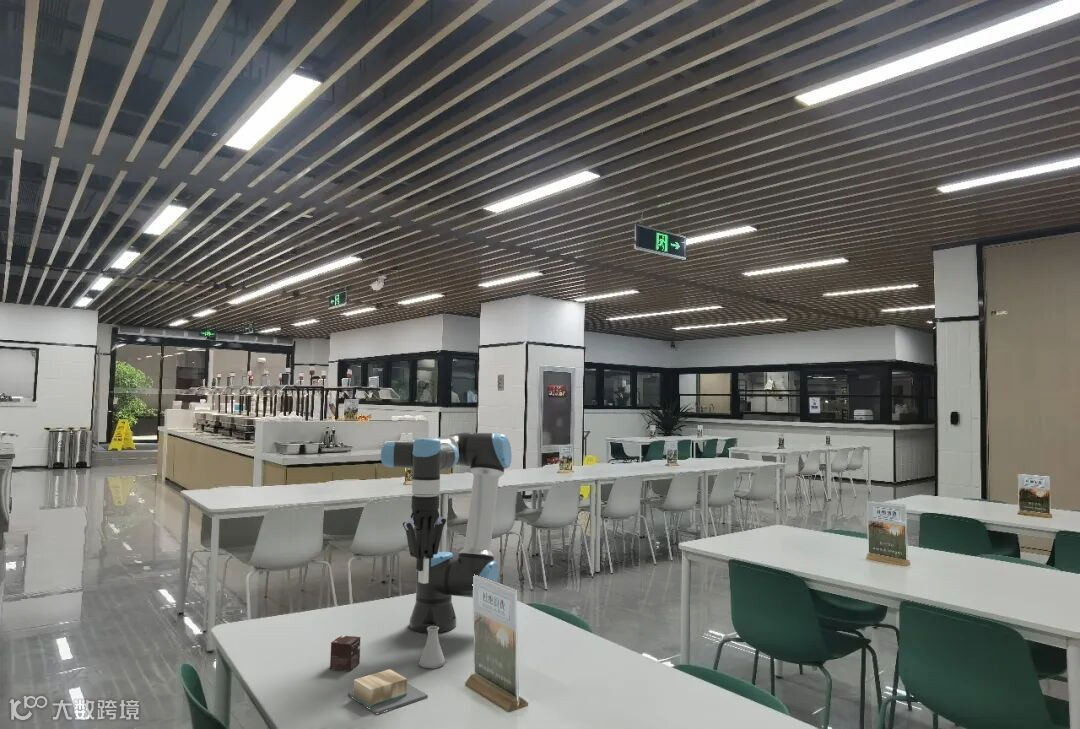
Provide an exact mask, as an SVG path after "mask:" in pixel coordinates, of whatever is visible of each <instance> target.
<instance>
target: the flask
mask: <svg viewBox="0 0 1080 729" xmlns="http://www.w3.org/2000/svg"><path fill="white" fill-rule="evenodd" d="M438 629H439V627H437V626H430V627H428V628H427V631H428V633H427V638H426V642H425V646H424V649H423V651H422V653H421V657H420V659H419V662H418V666H419V667H422V668H424V669H435V670H436V669H437V668H440V667H443V666H444V665H445V664H446V659H445V656H444V653H443V650H442V647H441V645H440V644H441V643H440V641H439V632H438Z"/></svg>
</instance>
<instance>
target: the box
mask: <svg viewBox="0 0 1080 729" xmlns="http://www.w3.org/2000/svg"><path fill="white" fill-rule="evenodd" d="M329 658H330V661H329V662H330V664H329V669H330V670H331V669H335V670H334V671H340V670H346V671H345V672H351V671H352V670H354V669H355V668H356V667H357V666H359V665H360V663H361V661H360V660H361V636H351V635H340V636H339V637H337V638H335V639H334V640H332V641H331V642H330V657H329ZM358 664H359V665H358ZM353 668H354V669H353Z"/></svg>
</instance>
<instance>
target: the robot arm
mask: <svg viewBox="0 0 1080 729" xmlns="http://www.w3.org/2000/svg"><path fill="white" fill-rule="evenodd" d="M512 457H513V456H512V447H511V442H510V441H509V438H508V436H506V434H504V433H503V434H502V433H496V432H490V433H489V432H460V433H454V434H447V435H442V436H441V435H440V437H438V438H437V437H436V438H435V437H417V438H415V439H414V440H412V441H411V440H410V441H394V440H393V441H387V442H386V443H384V444H383V446H382V448H381V451H380V461H381V464H382V465H383V467H386V468H393V469H395V468H398V469H400V468H401V469H412V481H411V482H412V484H411V485H412V486H411V494H412V496H411V514H410V518H409V520H408V521H404V522H403V523H402V527H403V529H404V530H405V533H406V534H405V535H406V539H407V546H408V551H409V555H410V557H412V558H415V559H416V565H415V566H416V567H415V569H416V570H415V572H416V577H415V578H416V579H415V580H416V584H415V588H416V589H415V604H414V606H413V608H412V613H411V616H410V618H409V628H410V630H412V631H415V632H419V633H426V634H428V631H427V628H428V627H430V626H437V627H439V629H438V633H443V632H444V631H445V632H448V631H451V630H453V629H454V627H455V628H456V626H457V616H456V613H455V609H454V606H453V602H452V601H453V600H452V596H454V597H461V598H462V597H463V598H472V599H474V598H473V586H472V584H473V576H474V574H475V575H478V576H481V577H484V578H487V579H489V580H492V581H495V582H497V583H498V578H499V574H500V573H499V564H498V562H496V561H495V560H494V559H495V555H494V554H493V552H492V551H491V548H492V547H491V546H492V539H493V538H492V536H493V530H494V529H493V528H494V522H495V512H496V506H497V496H498V488H499V479H500V478H501V477H502V476H503V475H504V474H505V469H508V468H510V466H511V463H512ZM456 465H457V466H462V467H463V466H464V467H470V468H469V471H470V472H471V474H472V475H473V480H472V486H471V495H470V500H469V501H470V502H469V509H468V510H469V511H468V517H467V526H466V532H465V540H464V541H465V542H464V547H463V548H462V549H461V550H460V551H459V552H458V558H455V557H454V554H453V553H452V552H450V551H439V548H440V544H441V539H442V534H443V530H444V527H445V524H446V522H447V519H446V518H445V517H441V516H440V513H439V509H440V496H439V494H440V493H441V471H442V470H444V471H445V470H448V469H451V468H453V467H455V466H456Z"/></svg>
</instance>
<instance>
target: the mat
mask: <svg viewBox="0 0 1080 729" xmlns="http://www.w3.org/2000/svg"><path fill="white" fill-rule="evenodd" d="M353 693H354V690H351V691H348V692H347V695H348V696H349V695H350V696H351V697H350V696H349V697H350V698H352V697H353ZM428 696H429V695H428V694H427V693H426V692H424V691H421V690H420V689H418V688H416V687H415V686H413V685H411V684H409V683H408V682H407V696H404V697H400V698H397V699H394V700H391V701H388V702H385V703H382V704H379V705H376V706H373V707H368V706H367V705H365V704H364V703H362V702H361V701H359V700H358V699H356V698H355V697H353V698H354V699H353V698H352V699H353V700H355V699H356V700H357V701H356V700H355V701H356V702H358V701H359V702H360V703H359V702H358V703H359V704H361V703H362V704H363V705H362V704H361V705H362V706H364V705H365V706H366V707H365V706H364V707H365V708H367V707H368V708H370V709H371V710H372V711H371V710H370V709H369V710H370V711H371V712H373V711H374V712H375V713H374V712H373V713H374V714H376V713H380V714H382V713H381V712H383V713H385V712H384V711H386V710H389V711H391V710H390V709H392V710H394V709H393V708H395V709H397V708H396V707H398V708H400V707H399V706H401V707H403V705H404V706H406V705H409V704H412V703H416V702H418V701H421V700H425V699H427V698H428ZM368 708H367V709H368ZM386 712H387V711H386Z"/></svg>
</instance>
